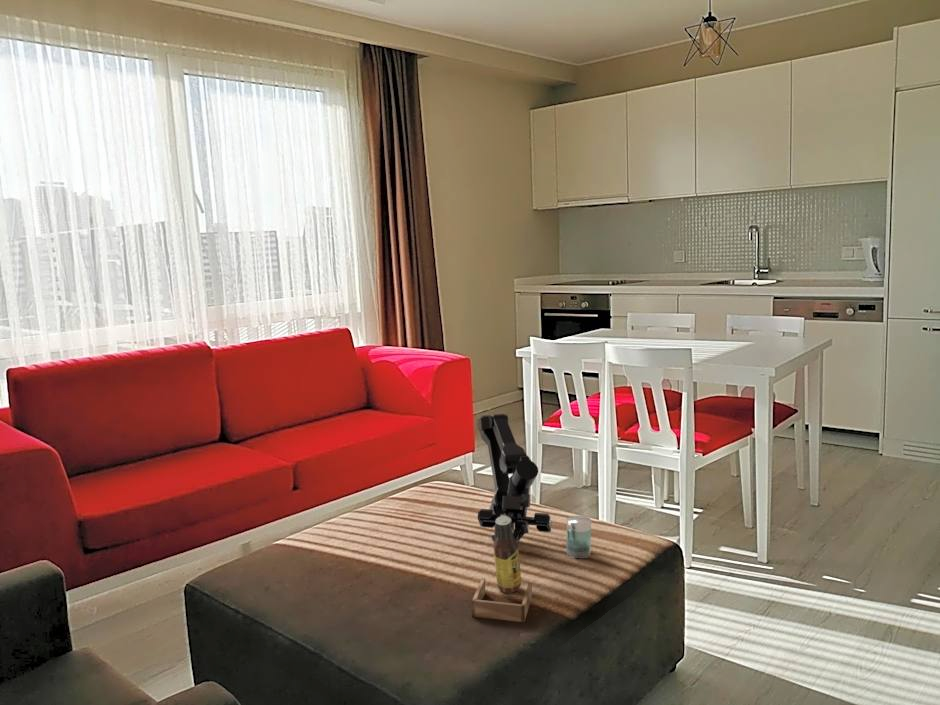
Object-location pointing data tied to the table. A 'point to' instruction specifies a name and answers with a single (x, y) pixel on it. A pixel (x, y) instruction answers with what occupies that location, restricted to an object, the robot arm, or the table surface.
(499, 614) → the crate
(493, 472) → the robot arm
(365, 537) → the table surface
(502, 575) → the sauce bottle
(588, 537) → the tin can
